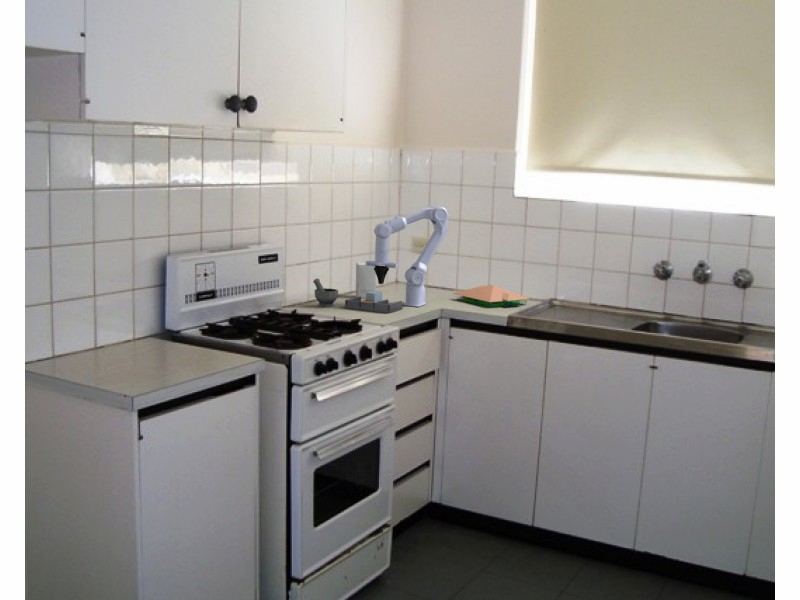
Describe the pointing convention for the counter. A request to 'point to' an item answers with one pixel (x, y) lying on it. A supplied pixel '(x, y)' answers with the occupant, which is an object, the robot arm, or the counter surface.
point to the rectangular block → (374, 296)
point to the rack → (373, 305)
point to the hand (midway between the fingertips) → (381, 283)
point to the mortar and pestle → (325, 295)
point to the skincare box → (365, 279)
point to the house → (492, 295)
